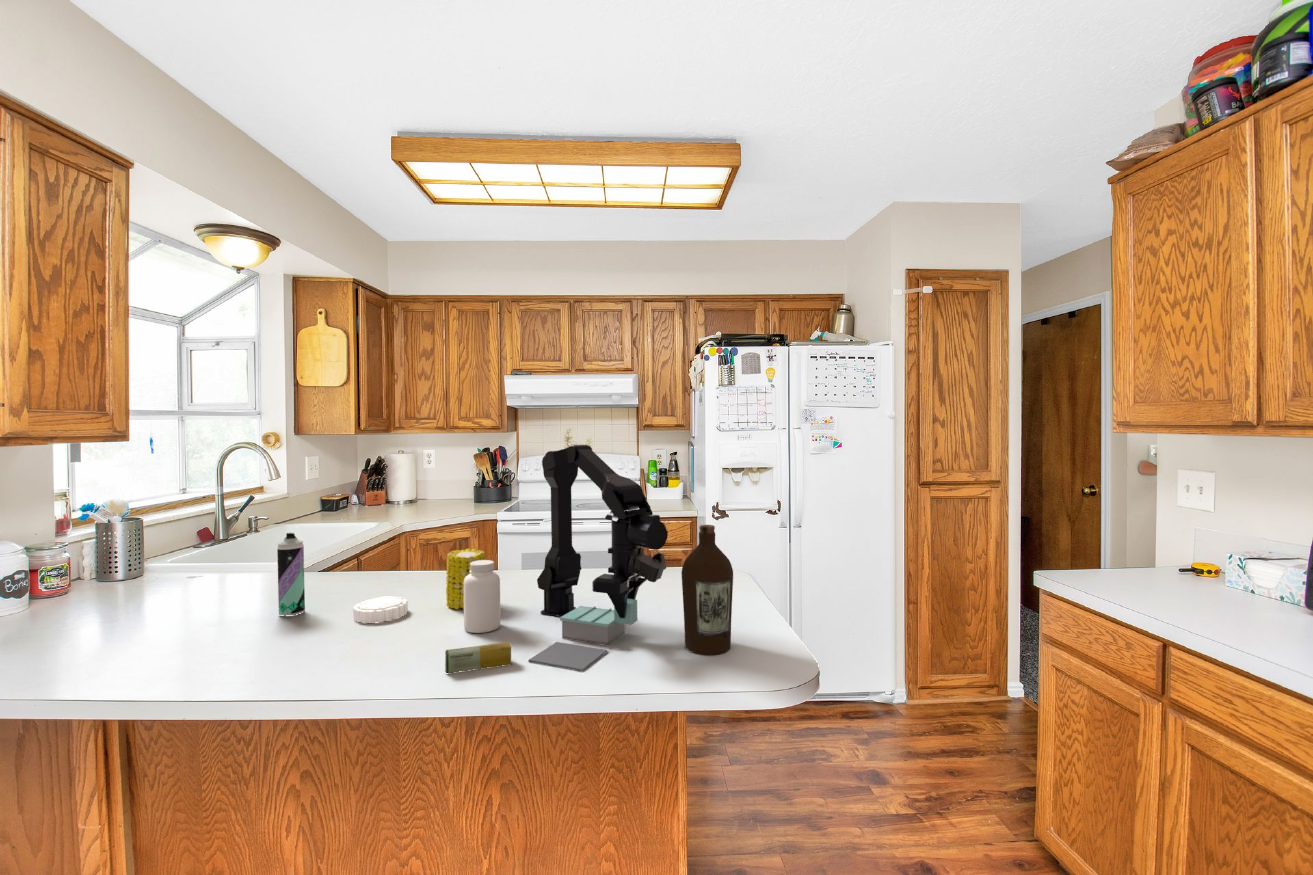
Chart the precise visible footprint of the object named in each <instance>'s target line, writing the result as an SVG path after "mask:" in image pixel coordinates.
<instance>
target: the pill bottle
mask: <svg viewBox="0 0 1313 875" xmlns="http://www.w3.org/2000/svg"><path fill="white" fill-rule="evenodd" d="M494 571H495V562H494V560H491V559H485V560H478V561H473V562H471V563H470V573H471V574H469V575H467V576H466V577H465V579H464V609H463V627H464V630H465V631H466V632H467V633H472V634H484V633H490V632H493V631H495V630H497V629H499V628H500V627H501V579H500V578H501V577H500V575H499V574H497V573H496V572H494Z"/></svg>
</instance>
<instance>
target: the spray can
mask: <svg viewBox="0 0 1313 875" xmlns="http://www.w3.org/2000/svg"><path fill="white" fill-rule="evenodd" d="M285 534H286V536H285V537H284V538H283V540H282V541H280V542H278V543H277V548H276V549H277V552H276V553H277V554H276V555H277V589H278V590H277V591H278V592H277V594H278V595H277V596H278V616H279V615H284V616H286V615H296V614H299V613H302V612H304V611H305V610H306V605H305V604H306V603H305V602H306V600H305V598H306V597H305V596H306V595H305V592H306V591H305V555H304V554H305V553H304V551H305V550H304V547H305V546H304V541H302V540H300V539H298V537H297V536H296V535H295V533H294V532H286V533H285ZM305 612H306V611H305ZM305 612H304V613H305Z"/></svg>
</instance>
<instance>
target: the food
mask: <svg viewBox="0 0 1313 875" xmlns="http://www.w3.org/2000/svg"><path fill="white" fill-rule="evenodd" d="M478 560H486V552H485V551H484V550H481V549H477V548H472V549H471V548H470V547H469V548H466V549H461V550H458V549H457V550H456V549H455V550H451V551H450V552H448V553H447V556H446V577H445V579H446V587H445V593H446V594H445V595H446V599H445V600H446V606H447V607H448V608H450V609H455V610H456V611H457V610H460V608H461V609H462V610H464V579H465V577H466V576H467V575H469V574H471V573H470V563H471V562H473V561H478Z"/></svg>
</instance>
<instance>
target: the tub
mask: <svg viewBox="0 0 1313 875" xmlns="http://www.w3.org/2000/svg"><path fill="white" fill-rule="evenodd" d="M561 629H562V630H561V633H562V634H561V635H562V637H561V638H562V639H563V640H564V639H565V640H571V641H576V642H583V643H589V644H590V643H591V644H595V645H601V646H607V645H608V646H609V645H611V644H612V643H613V642H614V641H616V640H617V639H618V638H620V637H621V636H622V635H624V634H625V632H626V631H625V624H619V623H613V624H612V625H610V626H609V627H604V626H597V625H590V624H583V623H576V622H569V621H562V620H561Z"/></svg>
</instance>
